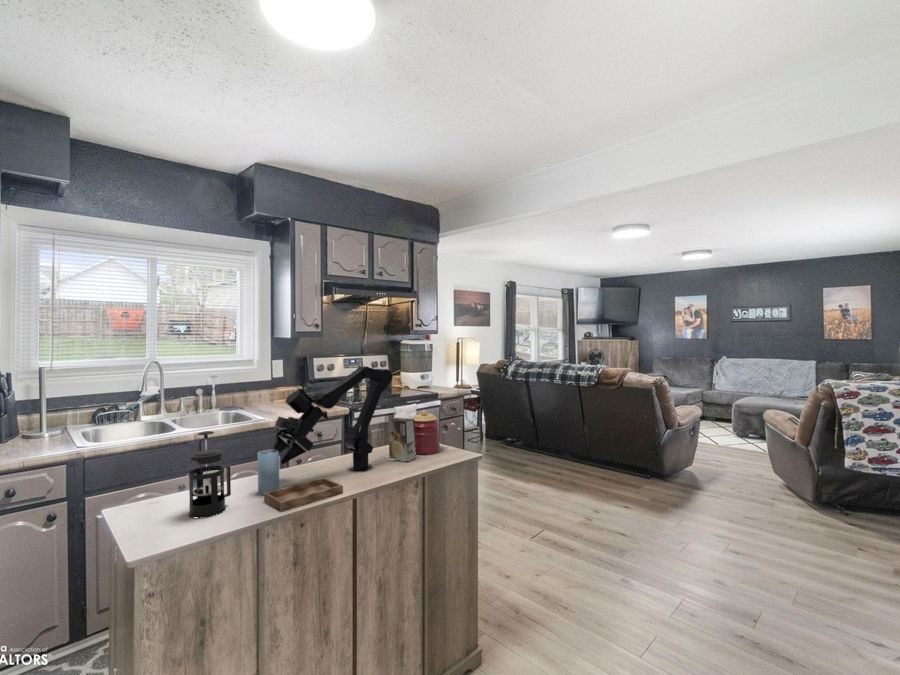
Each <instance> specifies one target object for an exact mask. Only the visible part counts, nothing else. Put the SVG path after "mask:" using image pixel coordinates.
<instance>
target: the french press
mask: <svg viewBox="0 0 900 675" xmlns="http://www.w3.org/2000/svg"><path fill="white" fill-rule="evenodd" d="M214 433H215V432H214V431H211V430H210V431H209V430H207V431H201V432H198V433H197V435H198V436H203V439H204V440H205V442H204V445H205V449H204V450H198V451H195V452H192V453H189V454H188V455H187V456H188V458H189V460H190V461H191V462H194V461H195V462H197V463H198V464H199V465H205V466H201V467H197V468H194V469H191V470H190V471H189V472H188V481H189V482H188V483H189V484H188V485H189V486H188V487H189V490H188V491H189V493H188V494H189V503H188V504H189V505H188V506H189V512H188V516H189V517H190V516H191V517H198V518H197V519H201V518H200V517H206V518H210V516H211V517H214V516H213V515H215V516H217V515H216V514H218V515H220V514H222V513H224V512H225V511H226V510H225V509H227V507H226V499H225V498H227V497H230V496H232V495H231V494H232V489H231V467H230V465H208V464H213V463H217V462H221V461H222V460H223V454H224V451H225V450H224V449H217V448H216V449H208V443H207V441H208V438H209V435H212V434H214ZM225 469H226V474H225ZM209 471H215V472H211V473H208V472H209ZM204 472H205V474H204ZM224 475H226V493H225V476H224ZM219 476H220V477H219ZM218 477H219V478H220V482H219V483H220V484H218ZM209 479H210V484H208V483H209V482H208V481H209ZM194 480H195V481H196V488H194V484H193V482H194ZM204 480H206V481H205V483H206V485H204ZM219 493H220V494H219ZM194 497H195V499H194ZM224 510H225V511H224ZM223 511H224V512H223ZM221 512H222V513H221ZM219 513H220V514H219ZM191 517H190V518H191Z"/></svg>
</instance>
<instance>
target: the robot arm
mask: <svg viewBox="0 0 900 675" xmlns="http://www.w3.org/2000/svg"><path fill="white" fill-rule="evenodd" d="M393 377H394V376H393V373H392V371H391V370H390V369H388V368H373V367H369V366H365V365H361V366H358V367H357V368H356V369H355V370H354V371H352V372H351V373H349V374H348V375H347V376H346V377H344V378H343V379H342V380H339V381H338V382H337V383H335V384H334V385H333V386H330V387H329V386H328V387H327V388H323V389H322V390H320V391H318V392H316V393H315V394H314V395H311V396H310V395H309V394H307V392H306V391H305V390H304V389H303V388H297V390H295V391H293V392H292V393H290V394H289V395H288V396H287V397H286V399H285V404H286V405H288V406H289V407H290V408H291V409H292V410H293V411H294V412H296V414H301V416H300V417H299V418H295V417H292V416H288V417H287V418H285V417H283V416H278V417H277V420H276V423H275V424H274V426H275V427H277V428H276V429H275V431H274V432H273V434H274V435H273V436H274V439H275V440H274V444H273V447H272V449H277V450H279V454H280V453H282V452H283V451H285V450H286V449H287V451H286V452H285V454H284V455H283V457H282V458H281V460H280V463H281V464H282V465H283V464H286V463H288V462H290V461H291V460H293V459H295V458H297V457H299V456H300V455H303V454H305V453H307V452H311V450H312V449H313V448H314V442H313V441H311V439H310V438H308V437H307V436H308V435H309V433H313V432H314V431H315V429H314V427H315V426H316V425H317V424H318V423H319V421H320V420H321V419H323V420H325V421H326V420H328V419H329V418H328V411H326V410H323V409H327V410H328V409H329V410H330V409H332V408H334V407H335V406H336V405H337V404H338V402H340V400H341V399H342V396H344V395H345V393H347V392H348V391H350V390H351V389H352V388H354V387H355V386H357V385H358V384H360V383H361V382H362V381H363V380H365V379H369V381H368V382H369V390H368V392H367V395H366V398H365V400H364V403H363V405H362V407H361V410H360V412H359V415H358V417H357V419H356V422H355V424H354V425H353V426H348V427H347V429H346V433H345V434H344V440H343V441H344V444H345V446H346V447H347V449H348V451H349V452H352V467H350V468H349V471H356V472H359V471H360V472H361V471H362V472H363V471H364V472H366V471H367V470H369V469H370V468H371V467H373V466H372V464H369V454H372V453H373V450H374V446H373V445H372V444H370V443H369V442H368V439H369V426H370V424H371V421H372V418H373V417H374V414H375V411H376V409H377V406H378V404H379V401H380V399H381V397H382V394H383V392H384V391H386V389H387V388H389V386H390V384H391V382H392V381H393ZM321 408H322V409H321Z"/></svg>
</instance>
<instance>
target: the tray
mask: <svg viewBox="0 0 900 675" xmlns="http://www.w3.org/2000/svg"><path fill="white" fill-rule="evenodd" d="M343 493H344V486H343V484H340V483H338V482H335V481H333V480H330V479H328V478H326V477H321V478H316V479H313V480H309V481H305V482H302V483H298V484H294V485H290V486H287V487H283V488H280V489H278V490H274V491H271V492H267V493H264V496H263V501H265V502H264V503H266V504H267V503H268V505H269V506H271V507H273V508H275V509H276V510H277V511H279V512H282V513H283V512H286V511H289V510H292V509H296V508H298V507H301V506H305V505H309V504H312V503H315V502H319V501H322V500H325V499H329V498H332V497H335V496H338V495H341V494H343Z"/></svg>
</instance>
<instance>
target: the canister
mask: <svg viewBox="0 0 900 675" xmlns="http://www.w3.org/2000/svg"><path fill="white" fill-rule="evenodd" d="M410 419H414V424H415V453H416V454H415V455H417V454H429V455H432V454H431V453H434V454H437V453H439V452H440V450H441V449H440V448H441V444H440V430H439V425H440V422H439V421H437V419H438V417H437V416H436V415H434V414H431V413H428V412H427V410H425V409H423V410H421V412H420V414H415V415H414V416H412V417H411V418H410ZM438 451H439V452H438ZM436 452H437V453H436Z"/></svg>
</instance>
